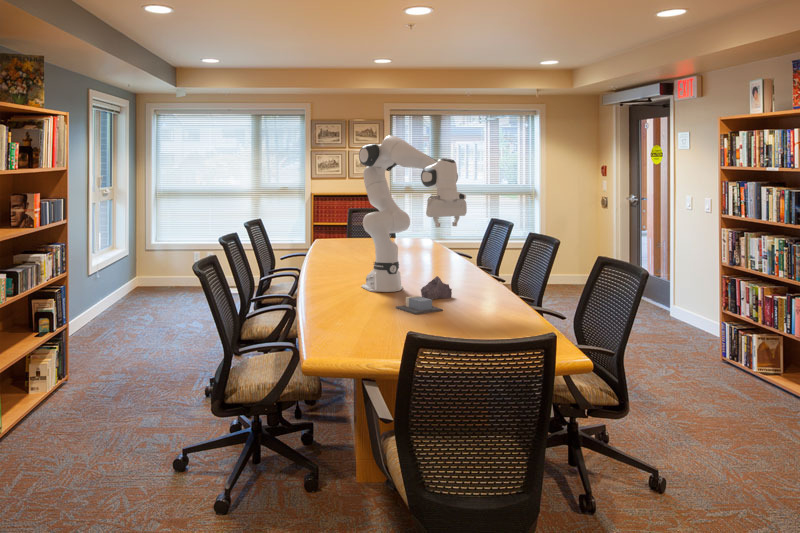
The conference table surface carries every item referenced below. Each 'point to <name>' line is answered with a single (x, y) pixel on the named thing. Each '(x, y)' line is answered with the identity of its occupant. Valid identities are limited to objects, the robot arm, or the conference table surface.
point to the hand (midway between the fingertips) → (446, 226)
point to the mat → (414, 311)
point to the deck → (418, 303)
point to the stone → (436, 289)
